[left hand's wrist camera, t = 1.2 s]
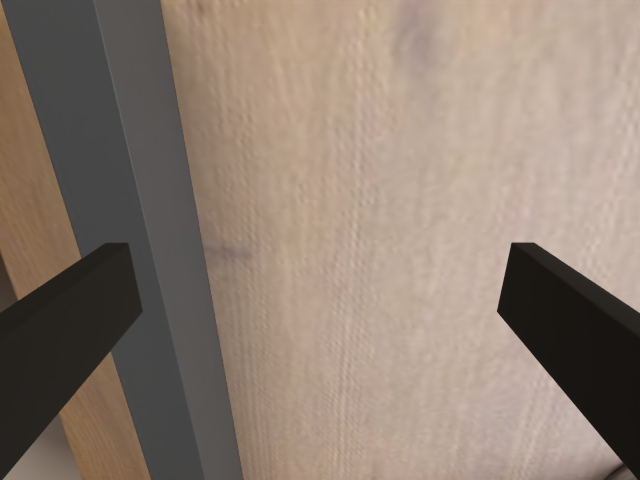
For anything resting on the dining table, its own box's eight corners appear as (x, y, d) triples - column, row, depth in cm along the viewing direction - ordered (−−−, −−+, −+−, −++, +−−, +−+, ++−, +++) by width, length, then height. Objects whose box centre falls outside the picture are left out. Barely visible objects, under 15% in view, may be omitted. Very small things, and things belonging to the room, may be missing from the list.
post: (93, -2, 25) (-16, -50, 17) (159, -5, 25) (81, -55, 17) (209, 496, 45) (184, 585, 36) (246, 495, 44) (229, 584, 36)
